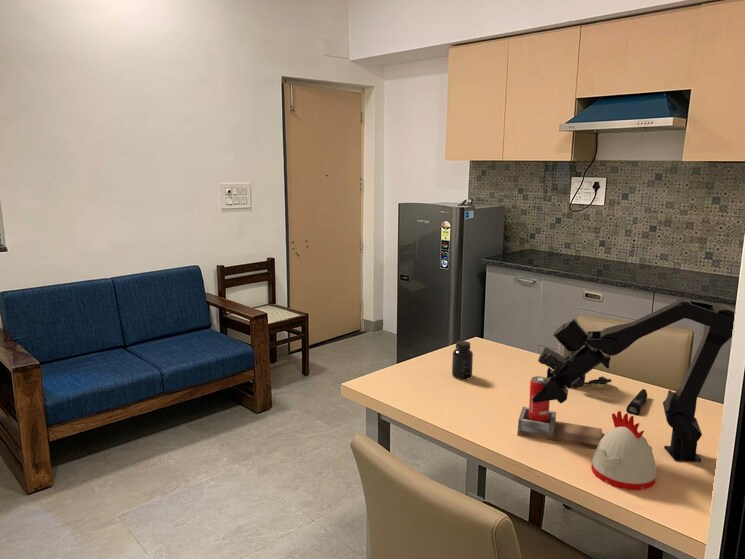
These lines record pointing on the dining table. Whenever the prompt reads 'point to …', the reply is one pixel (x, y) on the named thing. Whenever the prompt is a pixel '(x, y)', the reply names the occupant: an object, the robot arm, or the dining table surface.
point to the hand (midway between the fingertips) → (534, 397)
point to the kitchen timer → (624, 457)
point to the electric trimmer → (637, 403)
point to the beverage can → (538, 409)
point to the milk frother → (579, 382)
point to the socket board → (558, 431)
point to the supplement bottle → (462, 360)
